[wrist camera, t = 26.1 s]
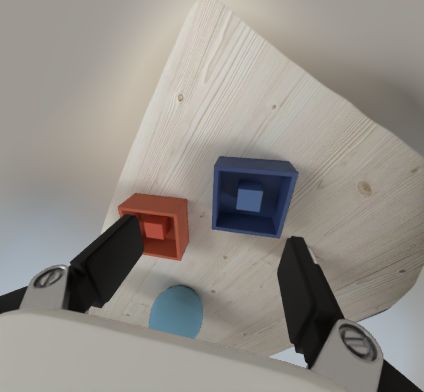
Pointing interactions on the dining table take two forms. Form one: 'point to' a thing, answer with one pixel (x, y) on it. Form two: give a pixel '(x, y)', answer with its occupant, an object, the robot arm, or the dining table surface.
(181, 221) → the red bin
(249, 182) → the blue block
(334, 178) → the dining table surface
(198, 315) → the vase
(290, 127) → the dining table surface
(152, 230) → the red block
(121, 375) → the robot arm
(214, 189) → the blue bin
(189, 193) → the dining table surface
